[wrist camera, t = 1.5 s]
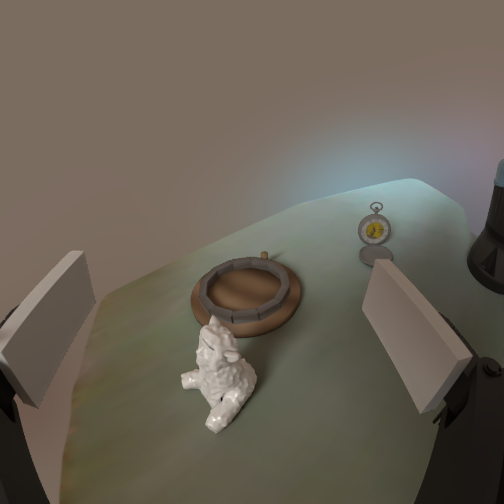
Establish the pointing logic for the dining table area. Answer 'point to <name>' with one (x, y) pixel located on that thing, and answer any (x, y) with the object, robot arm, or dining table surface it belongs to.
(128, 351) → the dining table surface
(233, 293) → the brown wooden disc
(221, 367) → the seated beast figurine
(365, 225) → the pocket watch
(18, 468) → the robot arm
